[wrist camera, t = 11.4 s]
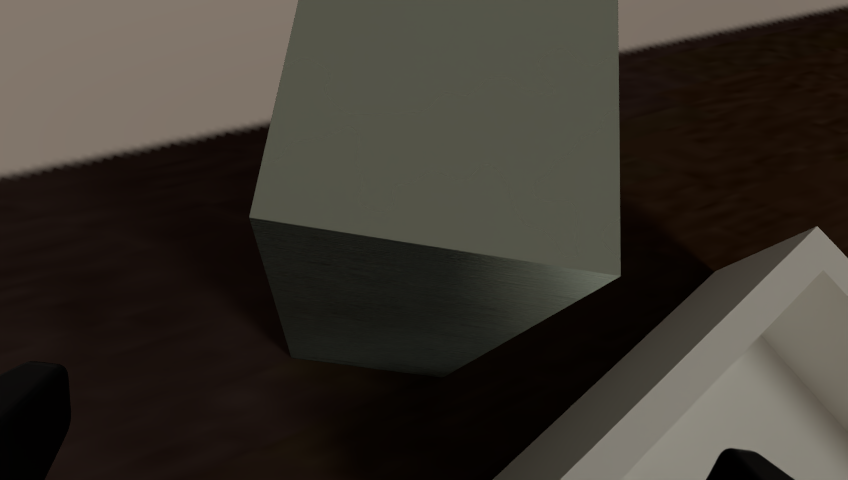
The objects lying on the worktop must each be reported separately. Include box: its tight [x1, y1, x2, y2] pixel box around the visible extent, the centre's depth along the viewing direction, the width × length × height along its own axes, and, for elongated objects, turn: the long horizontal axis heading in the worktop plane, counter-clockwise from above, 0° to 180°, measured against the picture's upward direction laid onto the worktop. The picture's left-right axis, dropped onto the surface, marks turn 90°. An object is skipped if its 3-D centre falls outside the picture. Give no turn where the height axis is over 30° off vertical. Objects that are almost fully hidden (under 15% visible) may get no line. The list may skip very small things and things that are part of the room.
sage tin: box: [249, 0, 621, 378], centre depth 14 cm, size 5×5×12 cm
